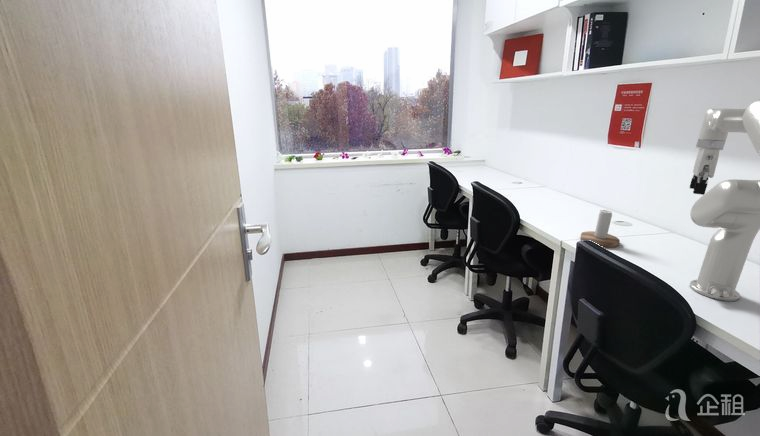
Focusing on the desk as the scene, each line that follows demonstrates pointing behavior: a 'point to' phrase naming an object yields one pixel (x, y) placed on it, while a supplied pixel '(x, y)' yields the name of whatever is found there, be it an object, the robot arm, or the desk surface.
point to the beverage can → (603, 224)
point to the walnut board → (607, 243)
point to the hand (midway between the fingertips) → (696, 191)
